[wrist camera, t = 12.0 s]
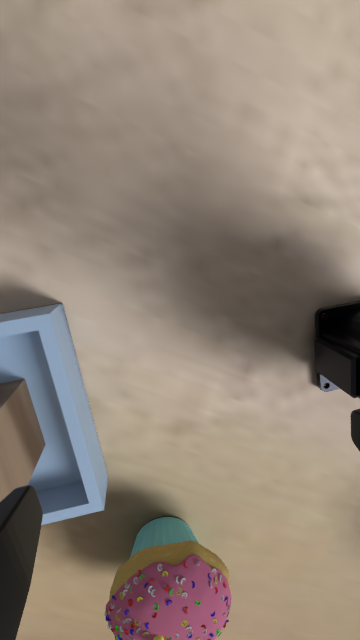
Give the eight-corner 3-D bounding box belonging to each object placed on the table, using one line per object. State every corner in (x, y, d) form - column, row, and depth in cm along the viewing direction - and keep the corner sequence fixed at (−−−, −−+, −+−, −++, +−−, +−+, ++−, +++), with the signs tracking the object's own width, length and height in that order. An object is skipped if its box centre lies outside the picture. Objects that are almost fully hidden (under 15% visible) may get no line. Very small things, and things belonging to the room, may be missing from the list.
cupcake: (97, 567, 25) (64, 845, 14) (135, 484, 24) (134, 717, 12) (191, 584, 27) (232, 841, 15) (232, 508, 25) (310, 729, 14)
